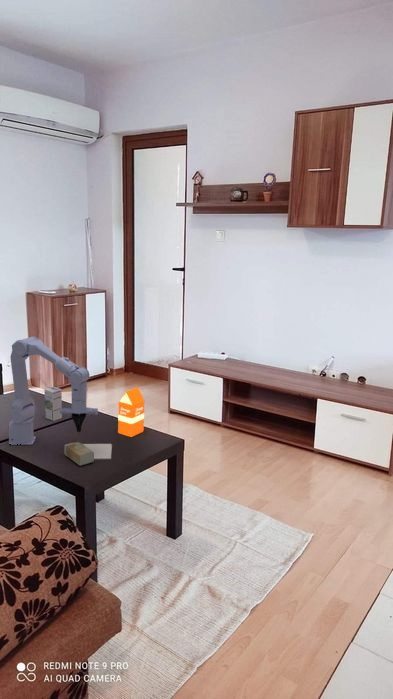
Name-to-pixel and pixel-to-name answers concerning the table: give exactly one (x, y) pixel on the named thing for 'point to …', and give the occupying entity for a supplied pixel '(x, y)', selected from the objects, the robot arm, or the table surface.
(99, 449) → the mat
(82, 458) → the skincare box
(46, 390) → the syrup box
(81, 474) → the table surface
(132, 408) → the orange juice
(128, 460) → the table surface
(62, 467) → the table surface
